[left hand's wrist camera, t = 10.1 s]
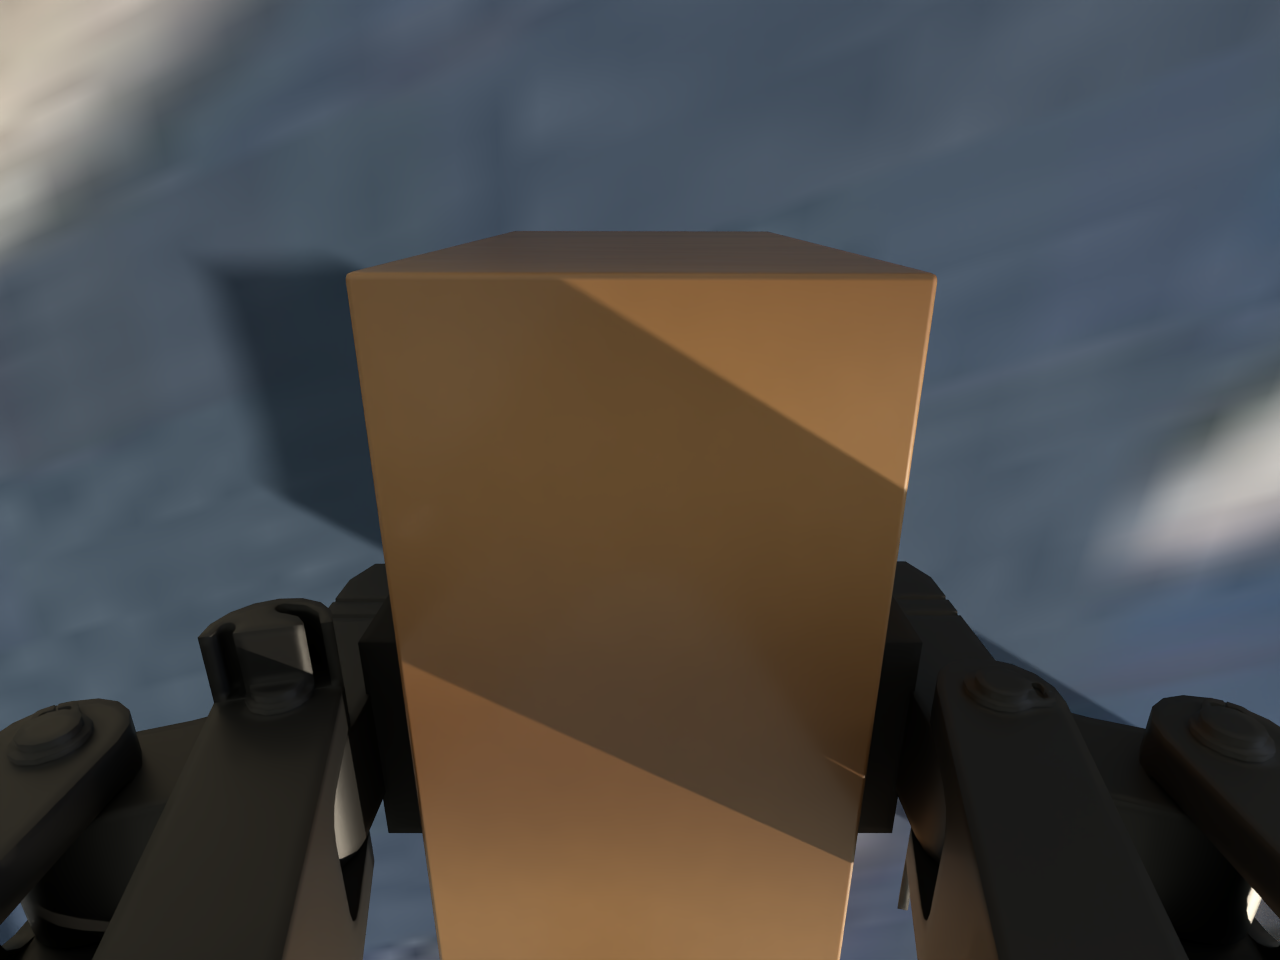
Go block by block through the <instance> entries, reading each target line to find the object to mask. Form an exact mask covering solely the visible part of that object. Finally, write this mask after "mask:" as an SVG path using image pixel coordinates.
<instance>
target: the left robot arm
mask: <svg viewBox="0 0 1280 960" xmlns="http://www.w3.org/2000/svg"><path fill="white" fill-rule="evenodd" d="M198 641H199V645H200V649H201V653H202V656H203V660H204V664H205V668H206V672H207V676H208V680H209V684H210V688H211V692H212V696H213V700H214V704H213V707H212V709H211V711H210V713H209V715H208V717H204V718H201V719H197V720H193V721H188V722H183V723H178V724H173V725H168V726H163V727H158V728H153V729H148V730H143V731H138V732H136V730H135V727H134V724H133V720H132V717H131V714H130V711H129V709H127V708H126V707H125V706H124V705H122V704H121V703H120V702H118V701H112V700H105V699H99V698H98V699H89V700H80V701H70V702H66V703H61V704H59V705H58V706H55V705H53V706H50V707H47V708H44V709H41V710H39V711H37V712H36V713H34V714H32V715H30V716H28V717H26V718H23V719H21V720H19V721H17V722H14V723H12V724H11V725H9V726H8V727H6V728H5V729H3V730H2V731H0V925H1V924H2V922H3V921H4V920H5V919H6V918H7V917H8V916H9V915H10V913H11V912H12V911H13V910H14V909H15V908H16V907H17V906H18V904H19V903H20V902H21V905H22V907H23V910H24V912H25V914H26V917H27V919H28V920H27V921H26V923H25V924H24V925H23V926H22V927H21V928H20V930H19V931H18V932H17V933H16V934H15V935H14V936H13V937H12V938H11V939H9V940H8V941H7V942H6V943H5V944H3V945H2V946H1V945H0V960H363V952H364V943H365V935H366V926H367V918H368V910H369V901H370V893H371V884H372V876H373V868H374V856H373V849H372V843H371V837H370V831H369V830H370V828H371V825H372V823H373V821H374V818H375V816H376V814H377V811H378V809H379V807H380V804H381V802H382V800H383V801H384V807H385V814H386V820H387V826H388V832H389V833H422V826H421V819H420V812H419V805H418V797H417V790H416V783H415V776H414V768H413V761H412V754H411V747H410V740H409V732H408V725H407V718H406V711H405V704H404V696H403V689H402V682H401V675H400V668H399V660H398V653H397V646H396V639H395V631H394V624H393V617H392V610H391V603H390V595H389V588H388V581H387V574H386V567H385V564H374V565H373V566H371V567H370V568H368V569H366V570H365V571H363V572H362V573H360V574H359V575H357V576H355V577H354V578H352V579H351V580H349V582H348V583H347V584H346V586H345V587H344V588H343V590H342V591H341V592H340V594H339V595H338V596H337V597H336V602H333V603H332V604H331V605H330V607H329V608H327V607H326V606H325V605H324V604H322V603H321V602H317V601H313V600H308V599H304V598H292V599H276V600H271V601H266V602H260V603H255V604H252V605H249V606H247V607H244V608H241V609H238V610H236V611H233V612H230V613H229V614H227V615H225V616H223V617H222V618H220V619H218V620H217V621H215V622H213V623H212V624H210V625H209V626H208V627H207V628H206V629H205V630H204V632H203V633H202V634H201V635H200V636H199V637H198ZM898 797H899V799H900V802H901V804H902V806H903V809H904V811H905V813H906V816H907V818H908V820H909V823H910V825H911V831H910V837H909V843H908V848H907V854H906V860H905V866H904V871H903V877H902V883H901V889H900V895H899V902H898V909H903V910H908V905H909V899H911V908H912V916H913V925H914V933H915V941H916V950H917V958H918V960H1280V943H1279V942H1277V941H1276V940H1275V939H1274V938H1273V937H1272V936H1271V935H1270V934H1269V933H1268V932H1267V931H1266V930H1265V929H1264V928H1263V927H1262V926H1261V924H1260V923H1259V922H1258V921H1257V920H1256V919H1255V918H1254V916H1255V914H1256V911H1257V909H1258V907H1259V904H1260V902H1261V899H1263V900H1264V902H1265V903H1266V904H1267V905H1268V906H1269V907H1270V908H1271V909H1272V910H1273V912H1274V913H1275V914H1276V915H1277V916H1278V917H1279V918H1280V727H1279V726H1278V725H1276V724H1275V723H1273V722H1272V721H1270V720H1268V719H1266V718H1264V717H1262V716H1259V715H1257V714H1255V713H1253V712H1250V711H1248V710H1247V709H1245V708H1244V707H1241V706H1239V705H1236V704H1233V703H1230V702H1227V703H1225V702H1223V701H1222V700H1218V699H1213V698H1204V697H1195V696H1186V695H1181V696H1175V697H1168V698H1163V699H1162V700H1160V701H1159V702H1158V703H1157V704H1155V705H1154V706H1153V707H1152V710H1151V713H1150V716H1149V719H1148V723H1147V726H1146V729H1144V728H1139V727H1134V726H1129V725H1124V724H1119V723H1114V722H1109V721H1104V720H1099V719H1093V718H1089V717H1085V716H1081V715H1077V714H1073V713H1071V712H1070V709H1069V707H1068V705H1067V703H1066V701H1065V700H1064V699H1063V698H1062V696H1061V695H1060V694H1059V693H1058V691H1057V690H1056V689H1055V688H1054V687H1053V686H1052V685H1050V684H1049V683H1047V682H1046V681H1044V680H1043V679H1042V678H1040V677H1039V676H1037V675H1036V674H1034V673H1031V672H1029V671H1027V670H1024V669H1022V668H1020V667H1017V666H1015V665H1012V664H1008V663H1004V662H999V661H995V659H994V658H993V657H992V656H991V654H990V653H989V652H988V650H987V649H986V648H985V647H984V645H983V644H982V643H981V641H980V640H979V639H978V638H977V636H976V635H975V634H974V632H973V631H972V630H971V628H970V627H969V626H968V625H967V623H966V622H965V621H964V619H963V618H962V617H961V616H960V615H957V610H956V609H955V608H954V606H953V605H952V604H951V603H950V601H949V600H946V599H945V595H944V594H943V592H942V591H941V590H940V588H939V587H938V586H937V584H936V583H935V582H934V581H933V579H932V578H931V577H930V576H928V575H926V574H925V573H923V572H922V571H920V570H918V569H917V568H915V567H914V566H912V565H910V564H909V563H907V562H904V561H897V564H896V571H895V578H894V585H893V592H892V599H891V605H890V612H889V619H888V626H887V633H886V640H885V647H884V654H883V661H882V668H881V675H880V682H879V689H878V696H877V703H876V710H875V717H874V724H873V731H872V738H871V744H870V751H869V758H868V765H867V772H866V779H865V786H864V793H863V800H862V807H861V814H860V821H859V828H858V833H892V829H893V823H894V817H895V811H896V805H897V798H898Z"/></svg>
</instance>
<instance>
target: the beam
mask: <svg viewBox="0 0 1280 960" xmlns="http://www.w3.org/2000/svg"><path fill="white" fill-rule="evenodd" d="M346 285H347V293H348V300H349V307H350V314H351V321H352V329H353V336H354V343H355V350H356V358H357V365H358V372H359V379H360V386H361V394H362V401H363V408H364V415H365V422H366V430H367V437H368V444H369V451H370V458H371V466H372V473H373V480H374V487H375V495H376V502H377V509H378V516H379V523H380V531H381V538H382V545H383V552H384V559H385V567H386V574H387V581H388V588H389V595H390V603H391V610H392V617H393V624H394V631H395V639H396V646H397V653H398V660H399V668H400V675H401V682H402V689H403V696H404V704H405V711H406V718H407V725H408V732H409V740H410V747H411V754H412V761H413V768H414V776H415V783H416V790H417V797H418V805H419V812H420V819H421V826H422V833H423V841H424V848H425V855H426V862H427V869H428V877H429V884H430V891H431V898H432V905H433V913H434V920H435V927H436V934H437V942H438V949H439V956H440V960H840V953H841V946H842V939H843V932H844V925H845V918H846V911H847V904H848V897H849V890H850V883H851V877H852V870H853V863H854V856H855V849H856V842H857V835H858V828H859V821H860V814H861V807H862V800H863V793H864V786H865V779H866V772H867V765H868V758H869V751H870V744H871V738H872V731H873V724H874V717H875V710H876V703H877V696H878V689H879V682H880V675H881V668H882V661H883V654H884V647H885V640H886V633H887V626H888V619H889V612H890V605H891V599H892V592H893V585H894V578H895V571H896V564H897V557H898V550H899V543H900V536H901V529H902V522H903V515H904V508H905V501H906V494H907V487H908V480H909V473H910V467H911V460H912V453H913V446H914V439H915V432H916V425H917V418H918V411H919V404H920V397H921V390H922V383H923V376H924V369H925V362H926V355H927V348H928V341H929V334H930V328H931V321H932V314H933V307H934V300H935V293H936V286H937V278H936V275H934V274H932V273H929V272H925V271H921V270H917V269H913V268H909V267H905V266H901V265H897V264H893V263H889V262H885V261H882V260H878V259H874V258H870V257H866V256H862V255H858V254H854V253H850V252H846V251H842V250H838V249H834V248H830V247H826V246H822V245H818V244H814V243H810V242H806V241H803V240H799V239H795V238H791V237H787V236H783V235H779V234H775V233H771V232H689V231H514V232H510V233H506V234H502V235H498V236H494V237H490V238H486V239H482V240H478V241H474V242H469V243H465V244H461V245H457V246H453V247H449V248H445V249H441V250H437V251H433V252H429V253H425V254H421V255H417V256H413V257H409V258H405V259H401V260H397V261H393V262H389V263H385V264H381V265H377V266H373V267H369V268H365V269H361V270H357V271H353V272H350V273H348V274H347V276H346Z"/></svg>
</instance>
